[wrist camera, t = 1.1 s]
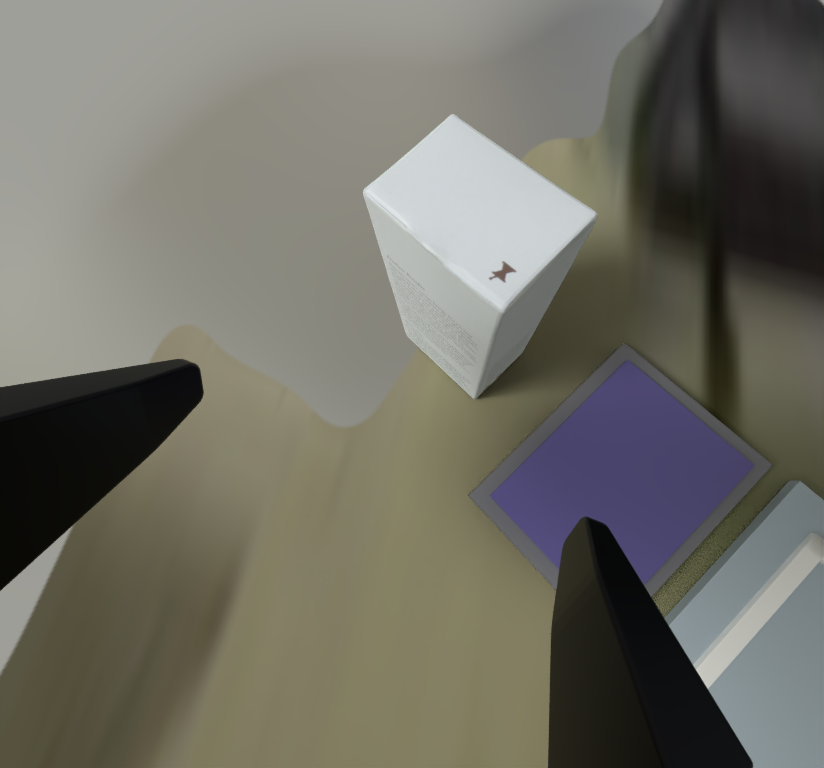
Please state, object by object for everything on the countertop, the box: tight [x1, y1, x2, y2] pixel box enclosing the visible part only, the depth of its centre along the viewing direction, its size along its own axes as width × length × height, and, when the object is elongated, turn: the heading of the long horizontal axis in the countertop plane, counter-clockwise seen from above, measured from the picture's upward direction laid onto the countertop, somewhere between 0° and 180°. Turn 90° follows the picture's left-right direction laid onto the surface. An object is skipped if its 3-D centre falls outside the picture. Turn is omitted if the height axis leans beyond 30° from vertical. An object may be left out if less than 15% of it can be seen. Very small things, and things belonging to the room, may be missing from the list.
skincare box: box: [363, 114, 598, 399], centre depth 17 cm, size 6×4×12 cm
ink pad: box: [468, 343, 772, 597], centre depth 19 cm, size 12×9×1 cm
